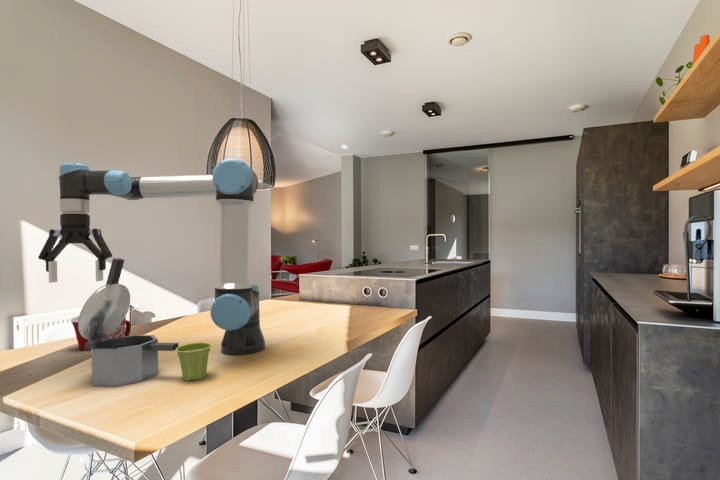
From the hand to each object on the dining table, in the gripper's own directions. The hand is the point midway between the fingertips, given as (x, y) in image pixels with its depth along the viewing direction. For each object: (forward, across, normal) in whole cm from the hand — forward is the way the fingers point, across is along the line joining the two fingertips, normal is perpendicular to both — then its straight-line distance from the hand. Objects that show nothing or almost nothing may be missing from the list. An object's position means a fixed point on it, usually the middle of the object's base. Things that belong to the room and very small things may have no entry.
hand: (76, 281), depth 122 cm
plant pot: (+27, -40, +15) cm, 50 cm away
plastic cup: (+27, +11, -25) cm, 39 cm away
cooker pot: (+27, -21, +11) cm, 36 cm away
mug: (+27, -6, -10) cm, 30 cm away
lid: (+5, -15, +9) cm, 18 cm away
